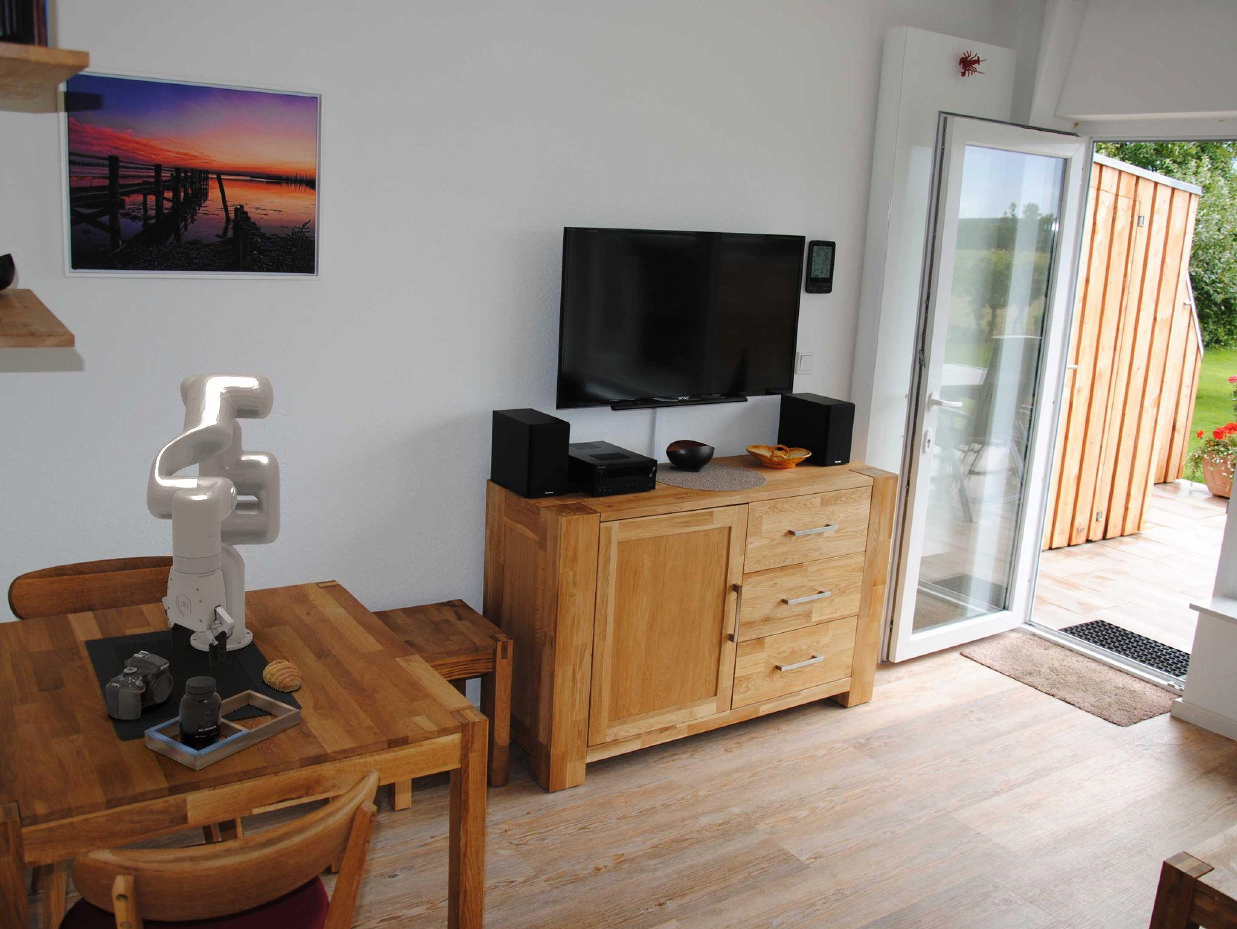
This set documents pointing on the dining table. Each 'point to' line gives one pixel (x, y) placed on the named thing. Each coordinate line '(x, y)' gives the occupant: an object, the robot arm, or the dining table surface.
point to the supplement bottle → (200, 714)
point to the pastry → (282, 676)
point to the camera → (138, 686)
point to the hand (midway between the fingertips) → (198, 654)
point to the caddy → (223, 732)
